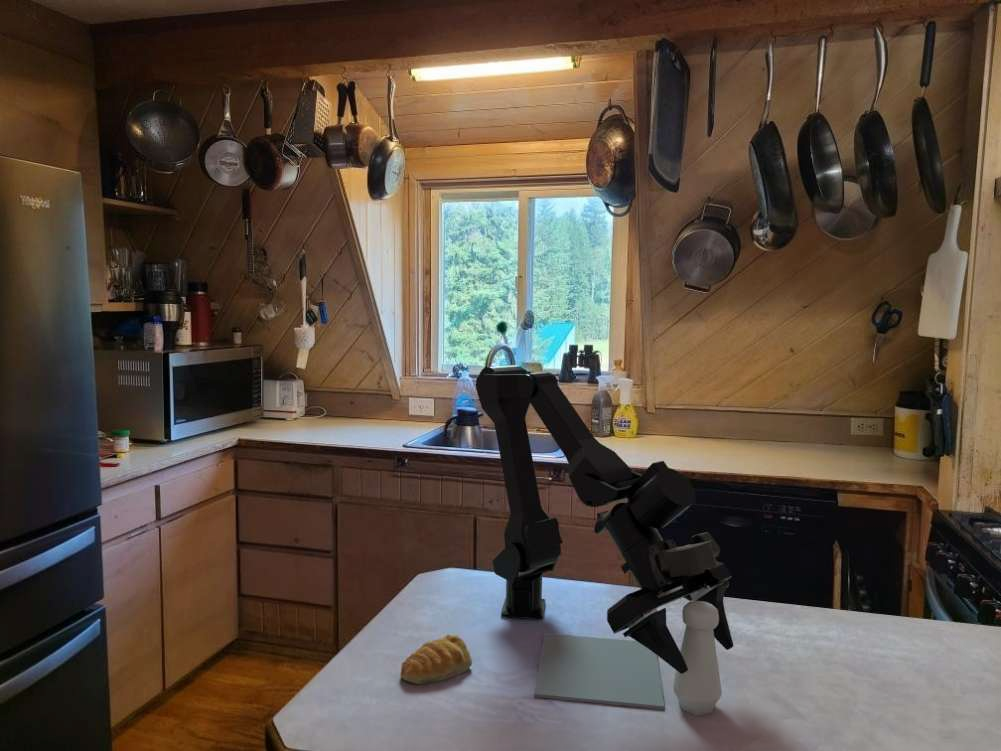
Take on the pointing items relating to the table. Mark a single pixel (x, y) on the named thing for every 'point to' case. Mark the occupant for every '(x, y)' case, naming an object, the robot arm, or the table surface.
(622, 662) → the slate mat
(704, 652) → the salt shaker
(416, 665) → the pastry
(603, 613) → the table surface
